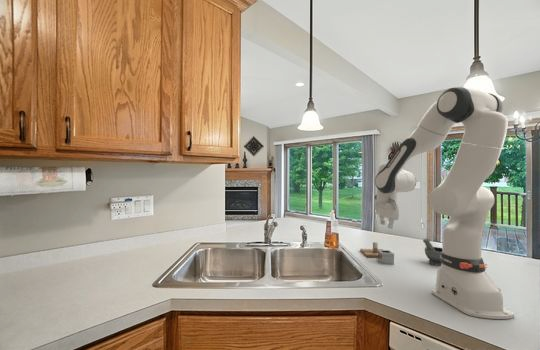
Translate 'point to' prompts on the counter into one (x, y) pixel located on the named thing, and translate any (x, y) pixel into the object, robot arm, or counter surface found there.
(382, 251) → the square sleeve
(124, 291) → the counter surface
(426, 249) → the mortar and pestle
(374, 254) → the post block
